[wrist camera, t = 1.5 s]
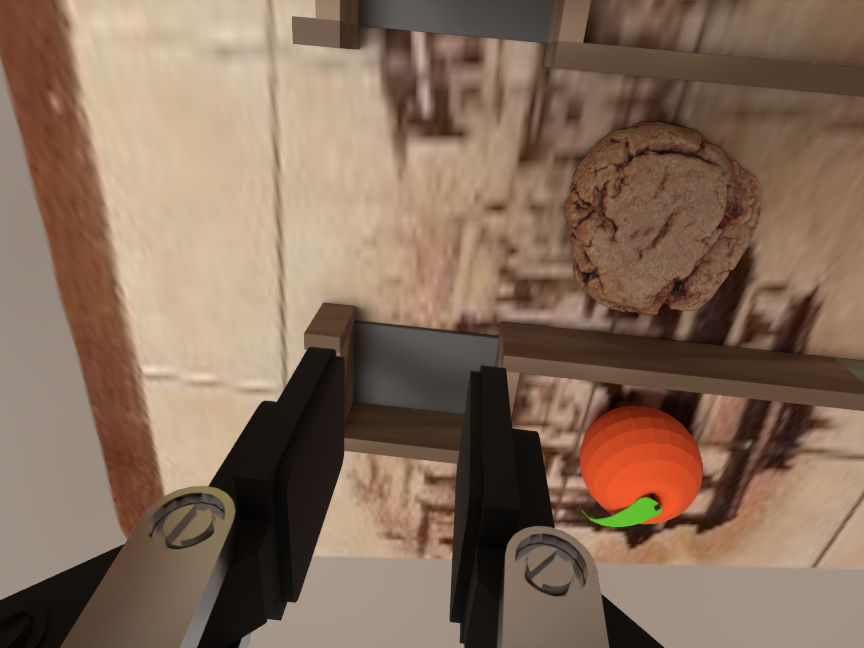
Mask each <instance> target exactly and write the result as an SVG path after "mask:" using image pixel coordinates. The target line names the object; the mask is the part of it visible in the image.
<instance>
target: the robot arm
mask: <svg viewBox="0 0 864 648" xmlns="http://www.w3.org/2000/svg"><path fill="white" fill-rule="evenodd" d="M344 401H345V360H344V357H342V356H337V355H336V350H335V349H329V348H320V347H309V348H308V349H307V351H306V353H305V354H304V356H303V358H302V360H301V361H300V363H299V365H298V366H297V368H296V370H295V372H294V373H293V375H292V377H291V379H290V380H289V382H288V384H287V386H286V387H285V389H284V391H283V392H282V394H281V396H280V398H279V399H278V401H277V402H273V401H263V402H261V404H260V405H259V406H258V408H257V409H256V411H255V412H254V414H253V416H252V417H251V419H250V420H249V422H248V424H247V425H246V427H245V428H244V430H243V432H242V433H241V435H240V436H239V438H238V440H237V441H236V443H235V444H234V446H233V448H232V449H231V451H230V452H229V454H228V456H227V457H226V459H225V460H224V462H223V464H222V465H221V467H220V468H219V470H218V472H217V473H216V475H215V476H214V478H213V480H212V481H211V483H210V484H209V486H194V487H188V488H184V489H180V490H176V491H174V492H172V493H170V494H168V495H166V496H164V497H162V498H161V499H159V500H158V501H157V502H155V503H154V504H153V505H151V506H150V507H149V509H148V510H147V511H146V512H145V513H144V515H143V516H142V517H141V519H140V520H139V522H138V523H137V525H136V527H135V528H134V530H133V531H132V533H131V535H130V536H129V538H128V539H127V541H126V543H125V544H124V545H121V546H119V547H117V548H115V549H112V550H110V551H108V552H106V553H103V554H101V555H99V556H97V557H95V558H92V559H90V560H88V561H86V562H84V563H81V564H79V565H77V566H75V567H73V568H70V569H68V570H66V571H64V572H61V573H59V574H57V575H55V576H53V577H51V578H48V579H46V580H44V581H42V582H39V583H37V584H35V585H33V586H31V587H29V588H26V589H24V590H22V591H20V592H17V593H15V594H13V595H11V596H8V597H6V598H4V599H2V600H0V648H248V645H249V642H250V636H251V632H252V631H254V630H256V629H257V628H259V627H260V626H262V625H264V624H265V623H266V622H267V619H273V620H281V619H282V616H283V613H284V610H285V607H286V605H287V602H297V600H298V598H299V595H300V592H301V589H302V586H303V583H304V580H305V577H306V574H307V571H308V568H309V565H310V562H311V559H312V556H313V553H314V550H315V547H316V544H317V541H318V537H319V534H320V531H321V528H322V525H323V522H324V519H325V516H326V513H327V510H328V507H329V504H330V501H331V498H332V495H333V492H334V489H335V486H336V483H337V480H338V477H339V474H340V470H341V467H342V463H343V458H344ZM450 599H451V601H450V622H454V623H460V643H463V644H464V645H465V646H464V647H465V648H664V647H663V646H662V645H661V644H659V643H658V642H657V641H656V640H655V639H654V638H652V637H651V636H650V635H649V634H648V633H647V632H646V631H644V630H643V629H642V628H641V627H639V626H638V625H637V624H636V623H635V622H634V621H633V620H631V619H630V618H629V617H628V616H627V615H626V614H624V613H623V612H622V611H621V610H620V609H618V608H617V607H616V606H615V605H614V604H613V603H612V602H610V601H609V600H608V599H607V598H606V597H605V596H603V595H602V594H601V590H600V583H599V577H598V571H597V568H596V565H595V562H594V559H593V557H592V556H591V555H590V553H589V552H588V550H587V549H586V547H585V546H583V545H582V544H581V543H580V542H579V541H578V540H577V539H576V538H574V537H573V536H571V535H569V534H567V533H565V532H564V531H561V530H558V529H555V527H554V521H553V515H552V509H551V503H550V497H549V491H548V485H547V479H546V473H545V467H544V461H543V455H542V449H541V443H540V438H539V434H538V432H537V431H529V430H520V429H512V422H511V412H510V402H509V391H508V381H507V371H506V368H502V367H493V366H484V365H481V367H480V372H478V371H471V372H470V377H469V385H468V392H467V399H466V406H465V414H464V421H463V428H462V435H461V443H460V450H459V457H458V464H457V474H456V492H455V513H454V534H453V556H452V578H451V598H450Z"/></svg>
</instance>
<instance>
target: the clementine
mask: <svg viewBox="0 0 864 648" xmlns="http://www.w3.org/2000/svg"><path fill="white" fill-rule="evenodd" d="M580 469H581V474H582V476H583V479H584V481H585V484H586V486H587V488H588V490H589V492H590V494H591V495H592V496H593V497H594V498H595V499H596V501H597V502H598V503H599V504H600V505H601V506H602V507H603V508H604V509H605V510H607V511H608V512H610V513H612V514H613V516H611V517H607V518H602V519H594V518H590V517H588V516H587V515H586V514H585V513H584V512H583V511H582V510H581V511H582V512H583V513H584V514H585V515H586V516H587V517H588V518H589V519H590V520H591V521H594V522H596V523H598V524H601V525H604V526H613V527H624V526H630V525H635V524H638V523H639V524H655V523H660V522H664V521H667V520H670V519H672V518H674V517H677V516H678V515H679V514H681V513H682V512H684V511H685V510H686V509H687V508H688V507H689V506H690V505H691V504H692V502H693V500H694V499H695V497H696V495H697V493H698V491H699V489H700V487H701V481H702V470H703V463H702V459H701V456H700V452H699V449H698V446H697V444H696V442H695V440H694V439H693V437H692V436H691V435H690V433H689V432H688V431H687V429H686V428H685V427H684V426H683V425H682V424H681V423H680V422H679V421H677V420H676V419H675V418H673V417H672V416H670V415H668V414H667V413H665V412H663V411H660V410H658V409H655V408H652V407H646V406H639V405H638V406H625V407H620V408H617V409H613V410H611V411H609V412H608V413H606V414H604V415H602V416H601V417H600V418H598V419H597V420H596V421H595V422H594V423H593V424H592V425H591V426H590V428H589V429H588V431H587V432H586V434H585V437H584V439H583V442H582V446H581V449H580Z"/></svg>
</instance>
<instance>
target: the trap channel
mask: <svg viewBox="0 0 864 648" xmlns="http://www.w3.org/2000/svg"><path fill="white" fill-rule="evenodd" d="M315 1H316V18H305V17H294V16H292V31H293V44H301V45H311V46H322V47H333V48H345V49H359V26H364V27H375V28H386V29H397V30H408V31H419V32H430V33H441V34H452V35H463V36H474V37H485V38H496V39H507V40H518V41H529V42H540V43H546V49H545V55H544V61H543V67H550V68H560V69H571V70H581V71H592V72H603V73H614V74H625V75H635V76H646V77H657V78H668V79H679V80H689V81H700V82H711V83H722V84H733V85H743V86H754V87H765V88H776V89H787V90H797V91H808V92H819V93H830V94H841V95H851V96H862V97H864V68H854V67H843V66H832V65H821V64H810V63H799V62H788V61H777V60H766V59H755V58H744V57H733V56H722V55H711V54H700V53H689V52H678V51H667V50H656V49H645V48H634V47H623V46H612V45H601V44H590V43H583V40H584V35H585V29H586V24H587V19H588V14H589V9H590V3H591V0H315ZM304 347H305V349H306V350H307V349H308V348H309V347H320V348H329V349H335V350H336V355H337V356H342V357H344V360H345V401H344V451H351V452H360V453H369V454H377V455H386V456H394V457H403V458H412V459H420V460H429V461H438V462H446V463H455V464H458V457H459V450H460V443H461V435H462V428H463V421H464V414H465V406H466V399H467V392H468V385H469V377H470V372H471V371H478V372H480V367H481V365H484V366H493V367H502V368H506V371H507V381H508V391H509V402H510V412H511V417H512V411H513V406H514V401H515V396H516V390H517V385H518V380H519V375H520V373H524V374H533V375H542V376H551V377H560V378H569V379H579V380H588V381H597V382H606V383H615V384H624V385H633V386H642V387H651V388H660V389H669V390H678V391H688V392H697V393H706V394H715V395H724V396H733V397H742V398H751V399H760V400H769V401H778V402H787V403H796V404H806V405H815V406H824V407H833V408H842V409H851V410H860V411H864V361H860V360H850V359H841V358H832V357H823V356H813V355H804V354H795V353H785V352H776V351H767V350H757V349H748V348H739V347H729V346H720V345H711V344H701V343H692V342H683V341H673V340H664V339H655V338H645V337H636V336H627V335H618V334H608V333H599V332H590V331H580V330H571V329H562V328H552V327H543V326H534V325H524V324H515V323H506V322H501V326H500V332H499V336H491V335H482V334H473V333H464V332H455V331H445V330H436V329H427V328H418V327H408V326H399V325H390V324H381V323H371V322H362V321H355V306H347V305H338V304H329V303H323V304H322V306H321V307H320V309H319V310H318V312H317V314H316V315H315V317H314V318H313V320H312V322H311V323H310V325H309V326H308V328H307V330H306V331H305V333H304Z"/></svg>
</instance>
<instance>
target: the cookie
mask: <svg viewBox="0 0 864 648" xmlns="http://www.w3.org/2000/svg"><path fill="white" fill-rule="evenodd" d="M570 188H571V194H570V196H569V197H568V199H567V201H566V203H565V217H566V219H567V222H568V225H569V226H570V230H569V231H570V241H571V243H572V246H573V248H572V255H573V257H574V258H575V260H574V265H573V271H574V278H575V281H576V283H577V284H578V286H579V287H580V288H581V289H582V290H583V291H585V292H586V293H587V294H589V295H590V296H591V297H592V298H593V299H595V300H596V301H598V302H599V303H600V304H603V305H605V306H607V307H609V308H611V309H614V310H620V311H622V312H625V311H626V310H627V311H630V312H632V313H633V312H637V313H641V314H646V315H655V314H657V313H658V310H659V308H660V307H661V305H662V304H663V303H667V304H668V306H670V308H671V309H678V310H683V311H693V310H696V309H698V308H700V307H701V306H702V305H704V304H705V303H707V302H708V301H709V300H710V299H711V298H712V297H713V295H714V294H715V293H716V291H717V290H718V288H719V287H720V285H721V284H722V283H723V282H724V280H725V279H726V278H727V276H728V274H729V272H730V270H733V269H734V268H735V266H736V265H737V263H738V262H739V260H740V258H741V257H742V255H743V253H744V252H745V250H746V248H747V246H748V244H749V243H750V240H751V238H752V237H753V234H754V230H755V229H756V226H757V224H758V219H759V214H760V206H761V202H760V200H759V198H760V195H761V192H762V191H761V188H760V185H759V182H758V181H757V180H756V179H755V178H754V177H752V176H751V175H749V174H747V173H746V172H745V171H744V170H743V169H742V168H741V167H739V166H738V164H737V162H734V161H729V160H728V159H727V157H726V155H725V153H724V152H723V150H722V149H721V148H720V147H718V146H716V145H713V144H710V143H707V142H705V141H704V139H703V137H702V136H701V135H700V133H698V132H697V131H695V130H694V129H689V128H686V127H684V128H682V127H678V126H673V125H669V124H665V123H662V122H653V123H649V122H647V121H642V122H639V123H636V124H635V125H633V126H632V127H630V128H627V129H619V130H615V131H613V132H610V133H609V134H608V135H607V136H606V137H604V138H602V139H600V140H599V141H598V142H597V143H596V144H595V145H594V146H593V147H592V149H591V150H590V151H589V152H588V153H587V155H586V156H585V158H584V159H583V160H581V161H580V163H579V164H578V167H577V169H576V171H575V172H574V175H573V178H572V184H571V187H570Z"/></svg>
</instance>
